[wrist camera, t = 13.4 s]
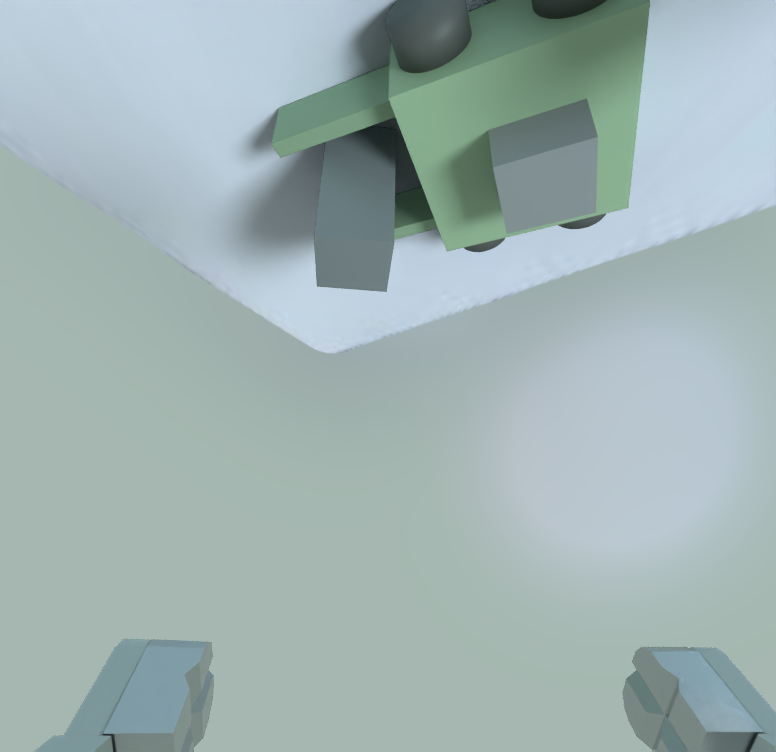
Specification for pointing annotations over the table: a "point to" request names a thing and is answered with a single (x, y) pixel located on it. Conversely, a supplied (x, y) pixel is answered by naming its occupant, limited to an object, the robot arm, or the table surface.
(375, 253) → the tall gray column
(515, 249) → the table surface
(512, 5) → the green toy forklift
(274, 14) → the table surface
